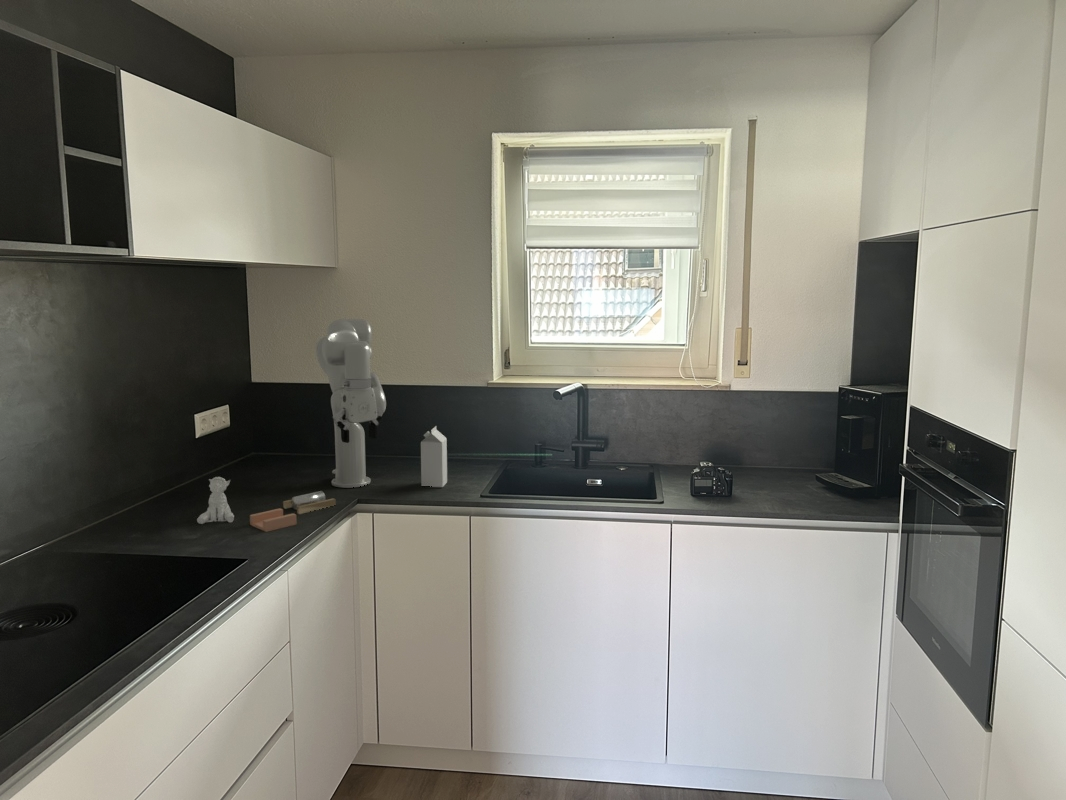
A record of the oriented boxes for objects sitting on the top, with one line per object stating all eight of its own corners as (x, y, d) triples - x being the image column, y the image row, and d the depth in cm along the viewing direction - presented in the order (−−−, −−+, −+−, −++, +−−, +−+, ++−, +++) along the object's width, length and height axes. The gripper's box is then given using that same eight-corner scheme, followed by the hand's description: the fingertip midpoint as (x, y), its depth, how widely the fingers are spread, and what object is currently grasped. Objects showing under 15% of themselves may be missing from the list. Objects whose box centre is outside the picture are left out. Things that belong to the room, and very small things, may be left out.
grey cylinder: (299, 510, 223) (297, 496, 223) (292, 510, 225) (290, 497, 225) (326, 503, 229) (324, 490, 229) (319, 504, 232) (317, 491, 232)
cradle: (250, 525, 210) (249, 515, 209) (280, 517, 216) (280, 508, 216) (266, 531, 204) (265, 521, 204) (296, 524, 211) (296, 514, 210)
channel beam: (283, 507, 226) (282, 501, 226) (319, 499, 235) (318, 493, 234) (299, 514, 220) (299, 507, 220) (335, 505, 229) (335, 499, 228)
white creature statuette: (196, 524, 210) (194, 482, 208) (203, 515, 218) (200, 474, 217) (233, 522, 212) (231, 480, 210) (238, 513, 220) (236, 473, 219)
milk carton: (447, 482, 256) (446, 426, 254) (442, 487, 249) (442, 430, 247) (426, 481, 257) (425, 425, 254) (421, 487, 250) (420, 429, 247)
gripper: (339, 388, 223) (341, 445, 225) (389, 382, 235) (390, 437, 238) (325, 385, 228) (327, 442, 231) (374, 380, 240) (376, 434, 243)
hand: (359, 439), depth 234 cm, fingers open, 9 cm apart
